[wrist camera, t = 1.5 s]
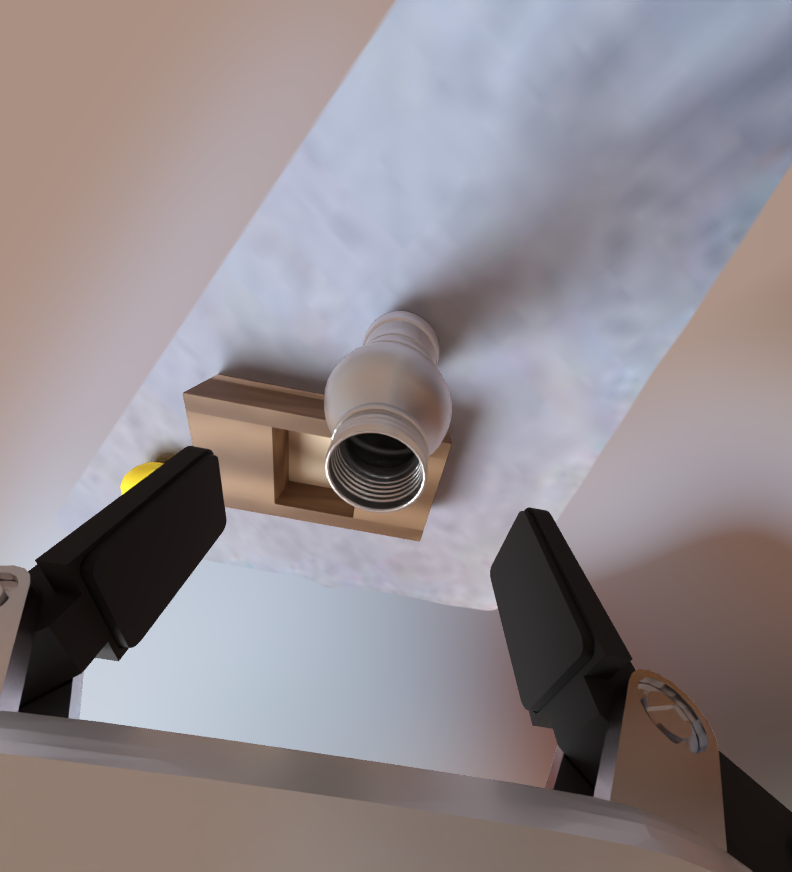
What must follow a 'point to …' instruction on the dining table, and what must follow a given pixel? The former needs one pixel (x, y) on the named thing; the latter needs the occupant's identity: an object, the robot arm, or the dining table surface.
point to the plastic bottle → (386, 414)
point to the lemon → (138, 475)
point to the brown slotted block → (288, 456)
